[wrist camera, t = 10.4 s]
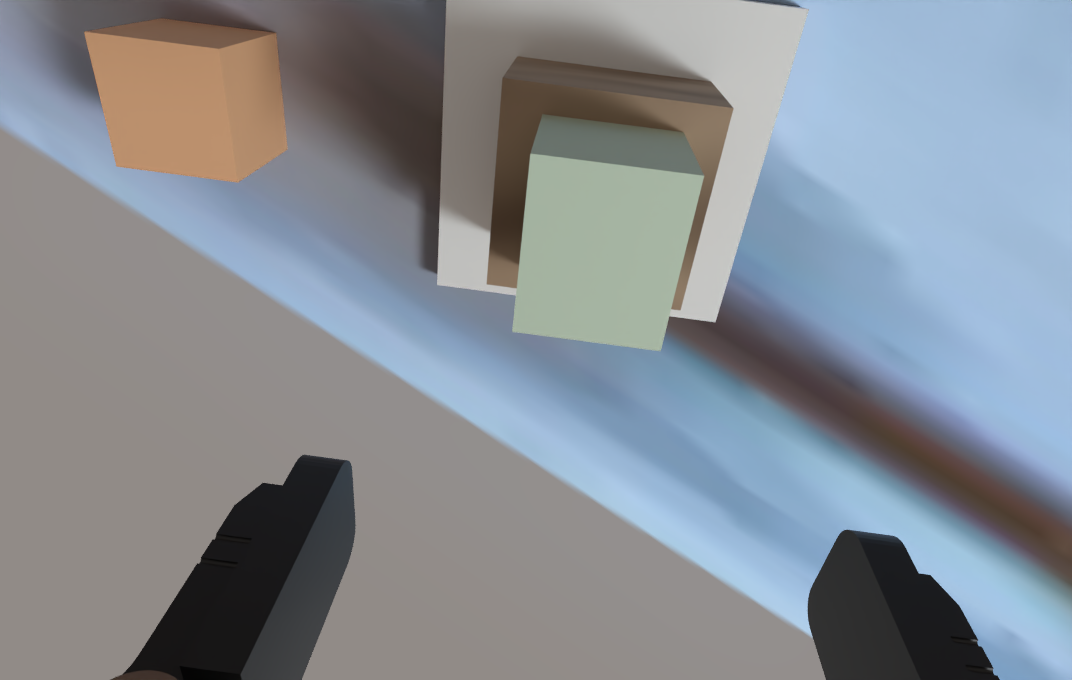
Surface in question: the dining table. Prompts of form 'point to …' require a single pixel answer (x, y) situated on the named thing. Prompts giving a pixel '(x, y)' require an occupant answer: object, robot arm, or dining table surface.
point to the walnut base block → (606, 100)
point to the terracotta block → (190, 97)
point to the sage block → (604, 231)
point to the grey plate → (626, 44)
